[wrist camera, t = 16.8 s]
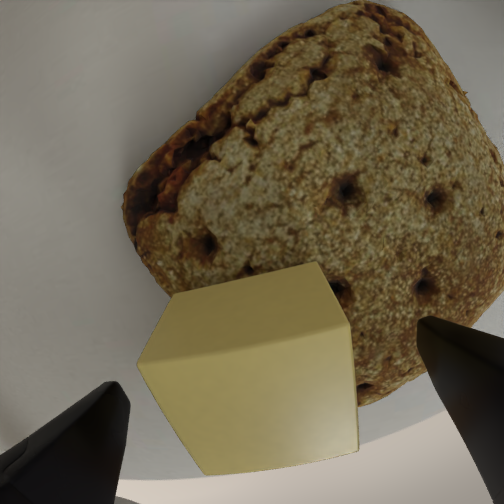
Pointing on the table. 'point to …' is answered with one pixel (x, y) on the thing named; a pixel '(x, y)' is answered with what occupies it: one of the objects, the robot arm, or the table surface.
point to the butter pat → (256, 372)
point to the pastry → (336, 185)
